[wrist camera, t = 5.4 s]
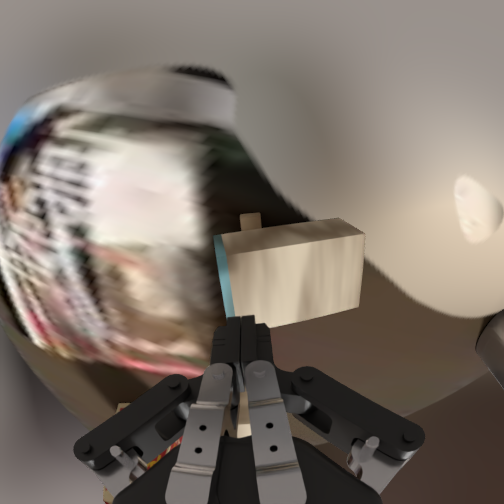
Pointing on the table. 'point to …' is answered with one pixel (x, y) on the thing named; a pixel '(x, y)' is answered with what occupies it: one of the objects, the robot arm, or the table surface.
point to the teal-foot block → (291, 270)
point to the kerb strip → (250, 221)
